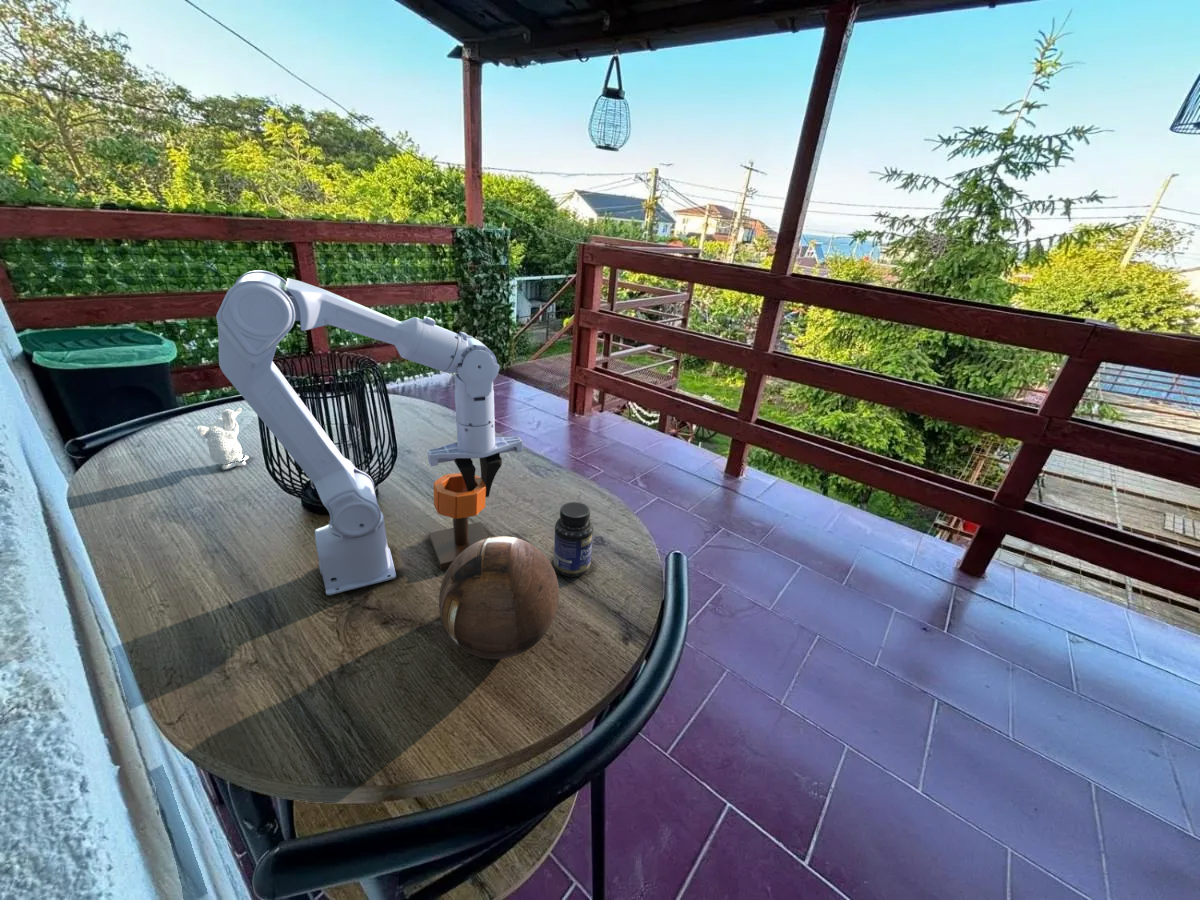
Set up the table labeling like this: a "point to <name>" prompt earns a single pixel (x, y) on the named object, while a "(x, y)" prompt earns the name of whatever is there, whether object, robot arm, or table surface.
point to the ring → (458, 496)
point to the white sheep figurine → (224, 439)
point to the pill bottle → (573, 540)
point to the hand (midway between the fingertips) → (478, 495)
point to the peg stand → (455, 540)
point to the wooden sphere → (499, 597)
